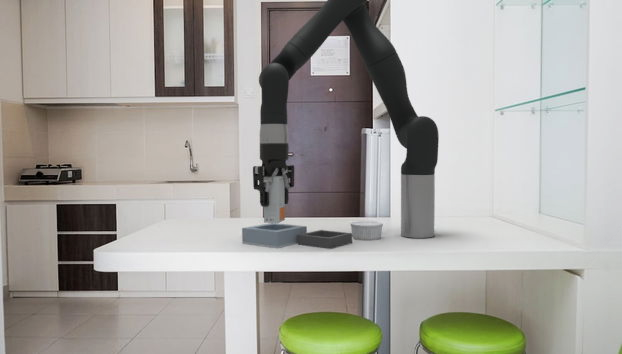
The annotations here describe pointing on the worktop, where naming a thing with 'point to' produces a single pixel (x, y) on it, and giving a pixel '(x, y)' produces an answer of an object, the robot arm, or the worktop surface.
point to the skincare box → (275, 201)
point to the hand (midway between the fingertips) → (274, 205)
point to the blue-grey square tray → (272, 235)
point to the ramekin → (366, 230)
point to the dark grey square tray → (325, 239)
